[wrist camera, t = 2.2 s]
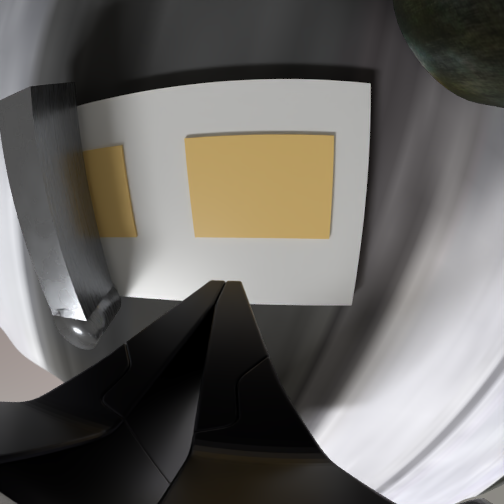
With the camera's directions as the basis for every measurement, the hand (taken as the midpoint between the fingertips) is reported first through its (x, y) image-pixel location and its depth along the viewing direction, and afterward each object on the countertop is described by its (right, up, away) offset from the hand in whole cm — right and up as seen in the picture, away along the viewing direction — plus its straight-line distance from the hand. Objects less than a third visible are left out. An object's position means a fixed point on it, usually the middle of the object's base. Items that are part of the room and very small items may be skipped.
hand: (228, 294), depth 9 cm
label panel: (-5, +4, +11) cm, 13 cm away
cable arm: (-11, +4, +10) cm, 15 cm away
